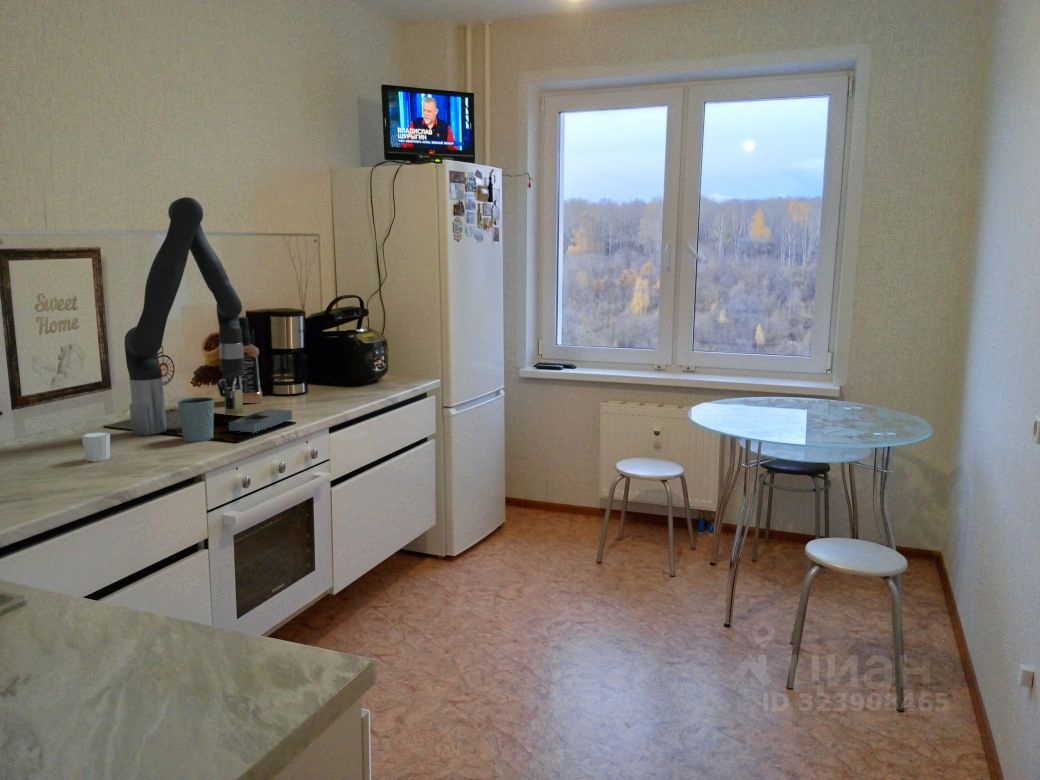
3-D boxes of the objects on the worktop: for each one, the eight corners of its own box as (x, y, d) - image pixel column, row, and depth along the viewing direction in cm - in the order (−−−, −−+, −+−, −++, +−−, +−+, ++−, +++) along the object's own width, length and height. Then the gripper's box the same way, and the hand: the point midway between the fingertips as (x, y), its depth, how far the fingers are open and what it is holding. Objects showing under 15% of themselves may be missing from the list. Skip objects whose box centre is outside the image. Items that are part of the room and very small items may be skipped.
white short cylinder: (105, 454, 218) (103, 430, 217) (116, 458, 214) (114, 434, 212) (79, 459, 213) (77, 434, 211) (90, 464, 208) (87, 438, 207)
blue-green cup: (175, 442, 232) (171, 402, 230) (189, 434, 242) (186, 396, 240) (208, 442, 232) (206, 402, 230) (221, 434, 242) (219, 396, 240)
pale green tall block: (235, 414, 256) (234, 390, 255) (225, 413, 257) (224, 390, 256) (243, 412, 260) (242, 388, 259) (232, 411, 261) (231, 388, 260)
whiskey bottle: (235, 399, 298) (229, 316, 292) (262, 398, 301) (257, 315, 295) (233, 404, 288) (227, 318, 283) (261, 403, 291) (255, 318, 285)
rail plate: (254, 433, 243) (253, 424, 243) (229, 431, 246) (228, 422, 245) (291, 418, 264) (291, 410, 264) (268, 417, 267) (267, 408, 266)
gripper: (228, 359, 248) (230, 412, 251) (254, 354, 261) (256, 404, 264) (207, 358, 250) (210, 410, 253) (234, 353, 263) (237, 403, 266)
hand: (233, 407), depth 258 cm, fingers closed on pale green tall block, 4 cm apart
